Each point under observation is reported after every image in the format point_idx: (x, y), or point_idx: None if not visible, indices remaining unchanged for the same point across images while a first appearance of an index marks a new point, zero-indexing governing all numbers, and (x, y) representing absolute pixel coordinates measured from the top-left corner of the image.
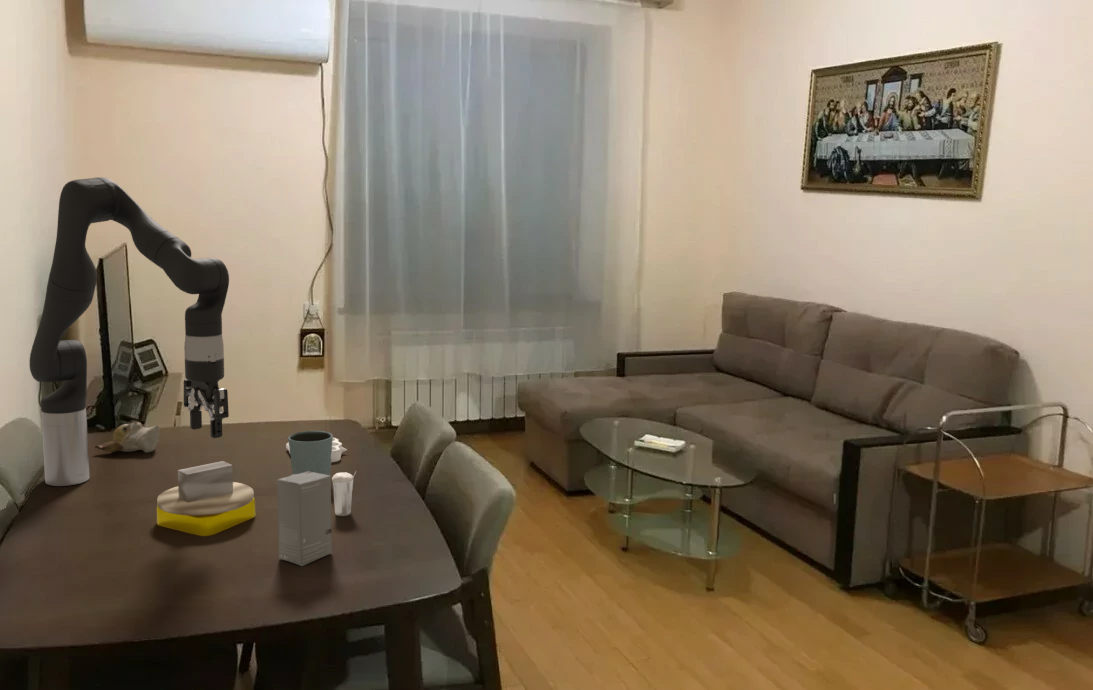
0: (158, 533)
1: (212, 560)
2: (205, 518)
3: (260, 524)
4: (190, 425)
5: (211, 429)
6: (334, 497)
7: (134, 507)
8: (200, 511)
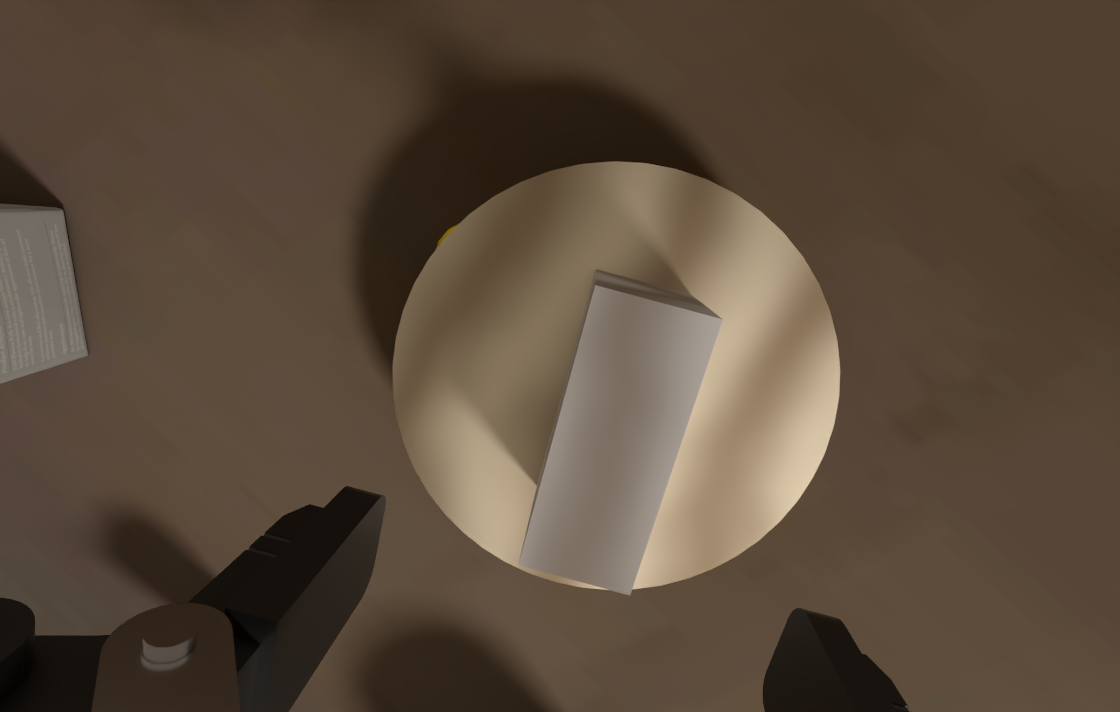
0: (645, 142)
1: (238, 62)
2: (446, 234)
3: (393, 426)
4: (848, 637)
5: (317, 533)
6: None
7: (989, 301)
8: (459, 226)
